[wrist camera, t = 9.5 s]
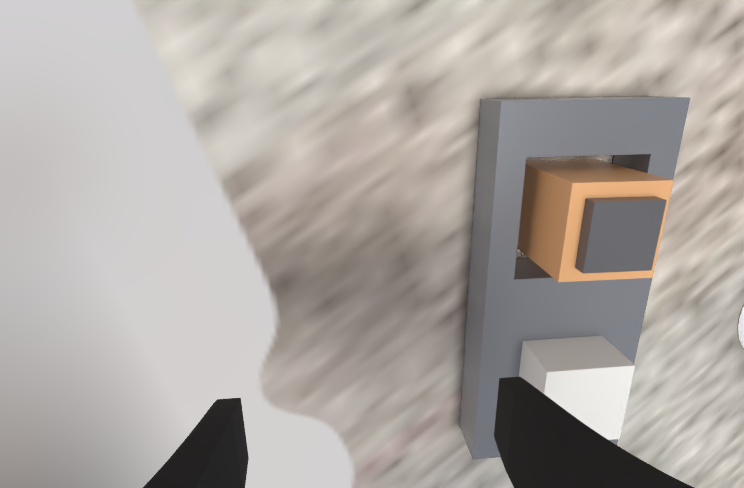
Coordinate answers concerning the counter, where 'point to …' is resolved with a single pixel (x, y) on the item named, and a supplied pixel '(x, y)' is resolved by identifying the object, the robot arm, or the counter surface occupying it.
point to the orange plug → (592, 219)
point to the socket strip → (535, 286)
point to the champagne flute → (741, 327)
